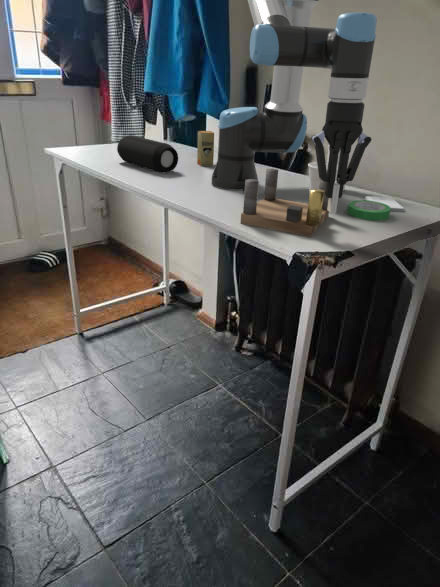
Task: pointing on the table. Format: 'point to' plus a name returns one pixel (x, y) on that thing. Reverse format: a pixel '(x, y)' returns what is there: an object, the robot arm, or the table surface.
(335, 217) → the table surface
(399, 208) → the external hard drive
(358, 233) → the table surface
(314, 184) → the cup
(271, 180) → the wooden peg board
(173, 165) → the portable speaker
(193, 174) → the table surface
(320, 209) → the leg
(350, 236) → the table surface
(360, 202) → the tape roll
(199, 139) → the shoe polish box
